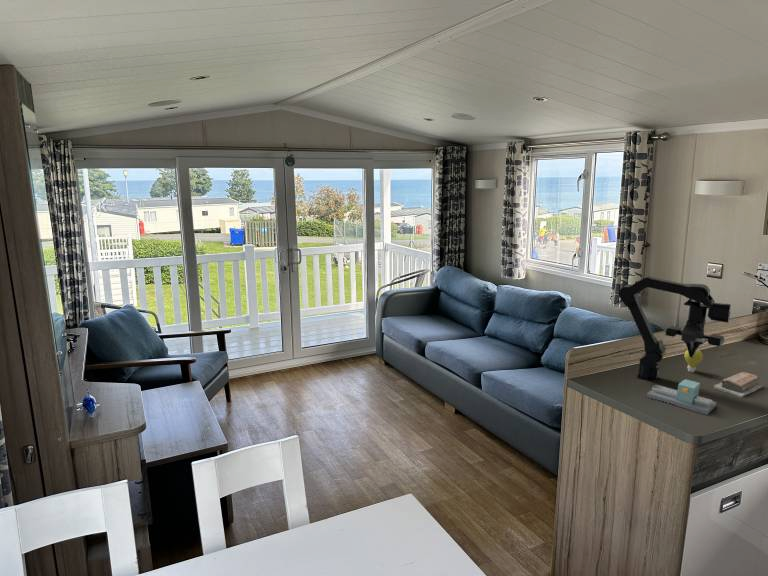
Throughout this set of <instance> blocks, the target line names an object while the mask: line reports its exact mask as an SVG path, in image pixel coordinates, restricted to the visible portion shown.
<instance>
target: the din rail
mask: <svg viewBox="0 0 768 576" xmlns="http://www.w3.org/2000/svg"><path fill="white" fill-rule="evenodd" d="M651 390H652V391H653V392H657V393H660V394H664V395H667V396H671V397H674V398H677V391H678V389H674V388H669V387H666V386H662V385H660V384H659V385H658V384H655V385H653V386H652V387H651ZM712 401H713V402H714V400H713V399H710V398H706V397H702V396H699V395H698V396H695V397H694V398H693V403H695V404H699V405H702V406H706V407H710V406H711V405H712Z"/></svg>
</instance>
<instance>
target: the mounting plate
mask: <svg viewBox="0 0 768 576" xmlns="http://www.w3.org/2000/svg"><path fill="white" fill-rule="evenodd" d="M646 397H647V398H648V397H649V399H652V398H653V400H655V399H657V400H656V401H658V400H661V401H660V402H662V401H664V402H663V403H665V402H667V403H666V404H669V403H671V404H670V405H672V404H674V405H673V406H675V405H676V406H675V407H679V408H683V409H685V410H686V409H687V410H690V411H693V412H696V413H700V414H703V415H709V413H711V412H712V411H713V409H715V408H716V405H717V401H714V400H713V401H712V405H711V406H710V407H706V406H702V405H699V404H695V403H692V404H688V403H685V402H681V401H678V400H676V398H674V397H671V396H667V395H664V394H660V393H657V392H653V391H652V389H650V391H648V392H646Z"/></svg>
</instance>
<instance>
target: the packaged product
mask: <svg viewBox="0 0 768 576" xmlns="http://www.w3.org/2000/svg"><path fill="white" fill-rule="evenodd" d="M759 379H760V378H759V376H757V375H756V374H753V373H749V372H746V371H740V372H738V373H736V374H733V375H731V376H729V377H726V378H723V379H722V381H721V382H720V383H717V384H714V387H713V389H715V390H718V391H721V392H724V393H727V394H730V395H733V396H736V397H739V398H743V397H745V396H746V395H749V394H751V393H755V392H756V391H757V390H759V389H761V388H763V387H764V384H760V383H758V381H759Z"/></svg>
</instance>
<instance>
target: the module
mask: <svg viewBox="0 0 768 576" xmlns="http://www.w3.org/2000/svg"><path fill="white" fill-rule="evenodd" d="M700 385H701V383H700V382H697V381H693V380H689V379H686V378H685V379H683V380H682V381H681V382H679V383H678V385H677V390H678V391H677V398H676V400H678V401H681V402H685V403H688V404H692V403H693V398H694V397H695V396H699V392H700V388H701V387H700Z"/></svg>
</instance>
